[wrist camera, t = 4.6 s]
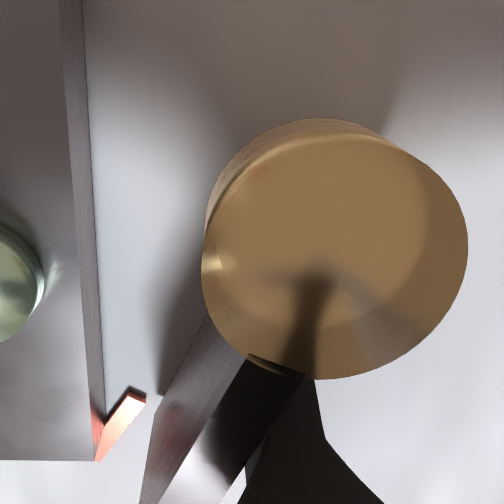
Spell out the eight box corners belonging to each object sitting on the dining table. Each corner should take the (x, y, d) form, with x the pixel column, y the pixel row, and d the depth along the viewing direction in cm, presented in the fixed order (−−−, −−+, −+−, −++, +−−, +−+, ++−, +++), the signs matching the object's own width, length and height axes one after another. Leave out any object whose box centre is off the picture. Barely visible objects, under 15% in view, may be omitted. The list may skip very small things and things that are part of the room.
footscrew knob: (258, 66, 10) (281, 85, 6) (422, 155, 11) (524, 215, 7) (103, 398, 13) (60, 532, 10) (236, 439, 14) (242, 573, 11)
